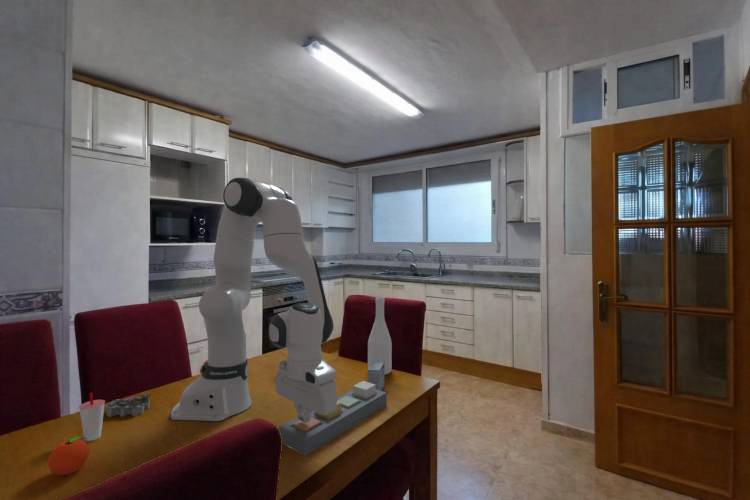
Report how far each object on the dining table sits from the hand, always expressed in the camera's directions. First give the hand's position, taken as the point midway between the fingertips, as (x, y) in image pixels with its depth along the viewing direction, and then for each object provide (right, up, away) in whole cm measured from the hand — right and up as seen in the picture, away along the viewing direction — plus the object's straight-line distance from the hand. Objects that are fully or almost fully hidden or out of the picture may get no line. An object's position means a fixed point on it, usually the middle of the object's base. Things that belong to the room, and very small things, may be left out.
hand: (303, 420), depth 91 cm
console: (+8, -5, +10) cm, 14 cm away
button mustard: (+6, -2, +7) cm, 9 cm away
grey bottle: (+20, -5, +50) cm, 54 cm away
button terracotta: (+1, -4, +1) cm, 4 cm away
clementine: (-49, -6, -12) cm, 51 cm away
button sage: (+10, -4, +13) cm, 17 cm away
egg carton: (-57, -5, +16) cm, 59 cm away
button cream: (+15, -2, +20) cm, 25 cm away
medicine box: (+19, -5, +32) cm, 38 cm away
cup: (-55, -5, +1) cm, 56 cm away
